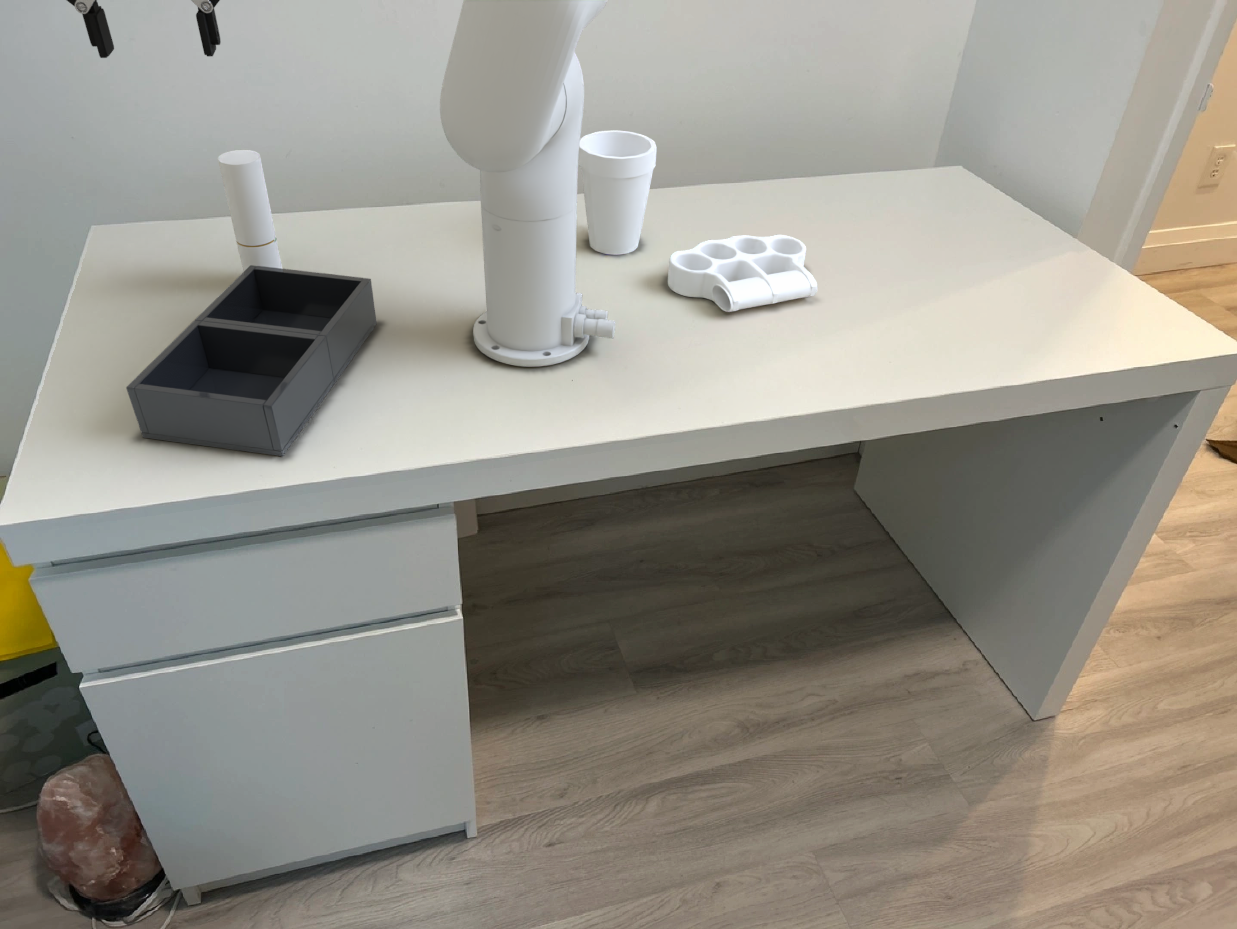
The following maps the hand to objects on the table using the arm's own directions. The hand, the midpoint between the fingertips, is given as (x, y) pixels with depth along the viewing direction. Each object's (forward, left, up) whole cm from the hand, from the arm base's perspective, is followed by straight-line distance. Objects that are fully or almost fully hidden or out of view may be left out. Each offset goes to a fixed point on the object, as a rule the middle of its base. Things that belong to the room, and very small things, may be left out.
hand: (159, 53), depth 95 cm
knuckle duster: (-60, -15, -26) cm, 67 cm away
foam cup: (-43, -22, -26) cm, 55 cm away
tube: (-5, -2, -26) cm, 27 cm away
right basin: (-14, +10, -26) cm, 31 cm away
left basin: (-14, +22, -26) cm, 37 cm away
